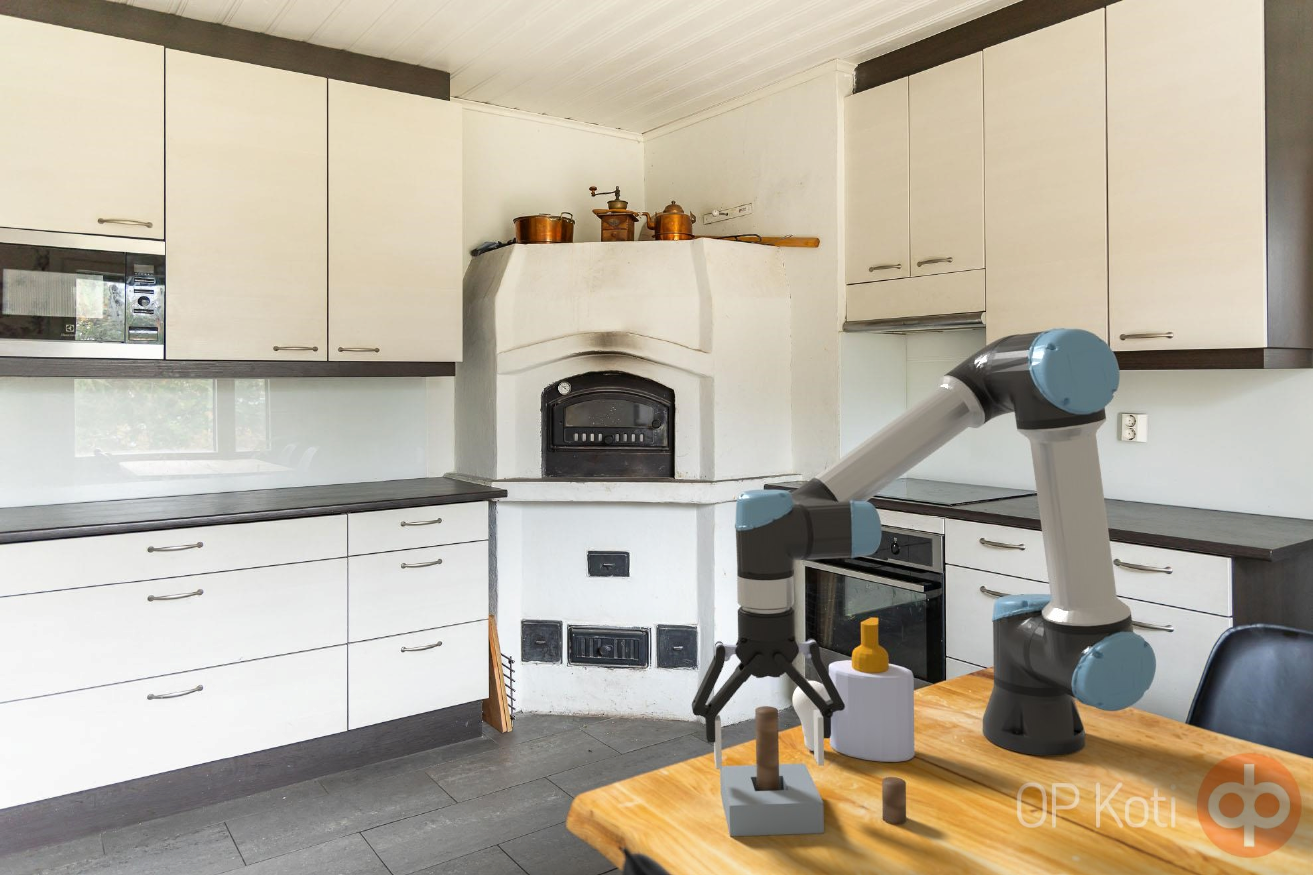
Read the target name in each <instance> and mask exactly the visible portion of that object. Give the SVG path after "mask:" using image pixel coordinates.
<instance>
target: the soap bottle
mask: <svg viewBox="0 0 1313 875" xmlns="http://www.w3.org/2000/svg"><path fill="white" fill-rule="evenodd" d="M889 662H890V661H889V653H888V651H887V650H886V649H885V648H884V647H883V646H881V645H879V617H869V618H867V619H865V620H863V621H861V622H860V645H858V646H857V647H855V648H854V649H853V650H852V653H851V659H848V660H847V659H846V660H840V661H839V660H837V661H833V662H831V663H829V665H828V674H829V676H830V678H831V680H832V682H833V684H834V685H835V687H836V689H837V691H838V693H839V695H840V697H841V699H842V701H843V702H844V704H845V708H844V710H842V711H839V710H838V711H835V712H833V716H832V717H831V736H830V738H829V745H830V747H831V749H833V750H835V751H836V752H837V753H840V754H843V755H845V756H848V757H852V758H856V759H862V760H866V761H875V762H880V763H881V762H882V763H884V762H886V763H889V762H891V763H898V762H905V761H910V760H911V759H912V758H914V757H915V688H914V687H915V685H914V684H915V682H914V680H915V679H914V674H913V671H912V670H910V669H908V668H906V667H904V666H900V665H896V664H892V663H889Z"/></svg>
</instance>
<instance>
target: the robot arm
mask: <svg viewBox="0 0 1313 875" xmlns="http://www.w3.org/2000/svg"><path fill="white" fill-rule="evenodd" d="M1118 363H1119V362H1118V360H1117V357H1116V355H1115V353H1114V352H1113V350H1112V348H1111V347H1110V346H1109V344H1108V343H1107V342H1106V341H1104V340H1103V339H1101V338H1100V337H1099V336H1097V335H1096V333H1093V332H1091V331H1089V330H1086V329H1082V328H1081V329H1080V328H1053V329H1048V330H1043V331H1036V332H1035V331H1034V332H1029V333H1022V334H1021V333H1020V334H1012V335H1011V334H1010V335H1007V336H1003V337H1000V338H998V339H996V340H994V341H992V342H991V343H988V344H987V345H985V346H984V347H982V348H981V349H979V350H977V351H976V352H974V353H973V354H972V355H970V356H969V357H967V358H966V359H965V360H963V361H962V362H961V363H959V364H958V365H957V366H955V367H954V368H952V369H951V370H950V371H948V372H946V373H945V374H944V375H943V376H941V377H940V378H939V379H938V381H937V388H936V389H935V390H933V391H932V392H930V393H929V394H928V395H926V396H925V397H924V398H922V399H921V400H920V401H918V402H917V403H915V404H914V405H913V406H911V407H910V408H908V409H907V410H905V411H904V412H903V413H901V414H900V415H899V416H897V417H896V418H895V419H893V420H892V421H890V422H889V423H888V424H886V425H885V426H883V427H882V428H881V429H879V430H878V431H876V432H875V433H874V434H872V435H871V436H870V437H868V438H867V439H866V440H864V441H863V442H861V443H860V444H859V445H857V446H856V447H854V448H853V449H852V450H850V451H849V452H848V453H846V454H845V455H843V456H842V457H840V458H839V459H838V460H836V461H835V462H834V463H832V464H831V465H830V466H828V467H826V468H825V469H824V470H823V471H821V472H820V473H819V474H817V475H815V477H813V478H811V479H809V481H807V482H805V483H804V484H802V485H800V487H798V488H797V489H789V490H784V489H783V490H782V489H752V490H751V489H750V490H746V491H743V492H741V493H739V495H737V499H736V503H735V504H736V506H735V524H734V529H735V541H736V543H735V544H736V545H735V546H736V569H737V570H736V571H737V572H736V575H737V576H736V578H737V580H736V582H737V583H736V584H737V588H736V589H737V591H736V594H737V604H738V605H739V606H740V607H739V608H738V609H737V641H736V643H735V644H728V643H727V644H726V643H723V642H722V641H720V640H719V641H716V642H715V643H714V651H713V658H712V660H711V662H710V664H709V666H708V668H707V671H706V672H705V675H704V677H703V679H702V681H701V683H700V685H699V687H698V689H697V692H696V694H695V696H694V698H693V701H692V703H691V710H692V713H693V715H694V716H701V717H703V718H704V720H705V721H704V722H705V739H706V741H707V743H708V744H710V743H713V750H714V751H713V754H714V756H713V757H714V759H713V760H714V765H715V769H716V770H720V769H722V766H723V761H722V760H723V756H722V755H723V753H722V752H723V751H722V750H723V749H722V720H721V716H720V712H721V711H722V710H723V708H724V707H725V706H726V705H727V704H728V702H729V701H730V700H731V699H732V697H733V696H734V695H735V693H737V691H738V690H739V689H740V688H741V687H742V686H743V684H744V683H746V682H747V681H748V680H749V678H750V677H751V676H753V677H756V679H763V678H767V677H772V678H780V677H781V676H782V675H784V674H786V675H787V676H788V678H790V680H792V681H793V682H794V683H795V684H796V686H797V687H799V688H800V689H801V690H802V691H803V692H804V693H805V694H806V695H807V697H808V698H809V699H810V700H811V701H812V702H813V703H814V704H815V706H816V707H817V708H818V709H819V710H820V711H819V710H813V711H814V751H813V754H814V760H815V761H816V764H817V765H818V766H819V767H821V766H823V767H824V766H825V749H824V748H825V744H824V743H825V742H824V739H830V736H831V717H832V716H833V712H835V711H838V710H839V711H842V710H844V708H845V704H844V702H843V701H842V699H841V697H840V695H839V693H838V691H837V689H836V687H835V685H834V684H833V682H832V680H831V678H830V676H829V671H828V670H827V669H826V667H825V665H824V662H823V661H822V657H821V651H820V645H819V644H818V643H817V641H816V640H815V639H814V638H808V639H807V640H806V641H803V642H797V641H796V638H795V637H796V635H795V634H796V632H795V631H796V630H795V629H796V628H795V609H793V607H792V606H794V604H795V589H794V588H795V585H794V584H795V582H794V581H795V579H794V574H795V572H794V571H795V569H794V565H795V561H806V560H822V559H823V560H824V559H827V560H828V559H844V558H845V559H846V558H848V559H849V558H850V559H854V558H859V557H864V556H871V555H873V554H875V553H876V552H877V550H878V549H879V546H880V545H881V540H882V523H881V522H882V521H881V516H880V514H879V512H878V510H877V508H876V507H875V505H874V504H872V503H871V502H869V500H870V499H872V498H874V497H875V496H876V495H877V494H879V493H880V492H882V491H883V490H884V489H885V488H887V487H888V486H890V485H891V484H892V483H893V482H895V481H897V480H898V479H899V478H901V477H902V476H903V475H904V474H906V473H907V472H909V471H910V470H911V469H913V468H914V467H915V466H917V465H919V464H920V463H921V462H922V461H924V460H925V459H927V458H928V457H929V456H930V455H932V454H934V453H935V452H937V451H938V450H939V449H940V448H942V447H944V446H945V445H946V444H947V443H948V442H950V441H952V440H953V439H954V438H956V437H957V436H958V435H960V434H962V432H964V431H965V430H967V429H968V428H972V429H978V428H981V427H983V425H985V424H986V423H987V422H989V421H991V420H993V419H995V418H996V417H997V418H998V417H1000V416H1003V415H1006V414H1007V415H1008V414H1009V413H1014V418H1015V425H1016V431H1017V432H1019V433H1020V434H1021V435H1023V436H1024V437H1026V438H1027V439H1028V440H1029V442H1030V450H1031V452H1030V453H1031V457H1032V466H1033V474H1034V480H1035V481H1034V482H1035V486H1036V488H1035V489H1036V496H1037V502H1038V510H1039V518H1040V525H1041V533H1042V540H1043V549H1044V555H1045V561H1046V562H1045V563H1046V572H1047V578H1048V585H1049V593H1050V594H1046V593H1025V594H1024V593H1023V594H1010V595H1005V596H1004V595H1003V596H1001V597H999V598H998V599H996V600H995V601H994V603H993V610H992V619H991V622H992V634H993V635H992V637H993V638H992V643H993V644H992V646H993V648H992V651H993V655H992V656H993V687H992V691H991V693H990V697H989V699H988V702H987V704H986V707H985V710H984V713H983V715H982V716H983V717H982V734H983V737H985V738H986V739H987V740H988V741H989V742H991V743H993V744H994V745H996V746H999V747H1001V748H1004V749H1007V750H1010V751H1013V752H1017V753H1020V754H1022V753H1023V754H1026V755H1027V754H1028V755H1035V756H1050V757H1051V756H1054V757H1055V756H1067V755H1072V754H1075V753H1077V752H1079V751H1082V750H1083V749H1084V747H1085V745H1086V730H1085V727H1084V726H1085V725H1083V721H1082V718H1081V715H1080V712H1079V709H1078V707H1077V704H1076V700H1077V701H1078V702H1079V703H1081V704H1082V705H1084V706H1085V705H1086V706H1089V707H1093V708H1096V709H1098V710H1100V711H1105V712H1117V711H1122V710H1126V709H1127V708H1130V707H1131V706H1134V705H1136V703H1138V702H1139V701H1140V700H1141V699H1142V698H1143V697H1144V695H1145V693H1146V691H1148V690H1149V689H1150V688H1151V686H1152V683H1153V681H1154V678H1155V676H1156V668H1157V658H1156V654H1155V651H1154V649H1153V646H1151V644H1150V643H1149V642H1148V641H1147V640H1145V638H1144V637H1142V635H1140V634H1137V633H1136V632H1134V627H1133V618H1132V612H1131V608H1130V606H1129V605H1127V604H1126V603H1125V602H1123V601H1122V600H1121V599H1120V598H1118V594H1117V588H1116V587H1117V586H1116V579H1115V572H1114V565H1113V558H1112V557H1113V556H1112V549H1111V542H1110V532H1109V527H1108V520H1107V519H1108V516H1107V510H1106V504H1105V502H1106V501H1105V497H1104V496H1105V495H1104V488H1103V480H1102V472H1101V471H1102V470H1101V464H1100V463H1101V462H1100V456H1099V455H1100V454H1099V449H1098V440H1097V433H1098V430H1099V429H1100V428H1101V427H1102V426H1103V425H1104V424H1105V422H1106V421H1107V414H1106V406H1108V404H1110V403H1111V402H1112V400H1113V399H1114V398H1115V397H1114V393H1115V392H1117V391H1118V388H1119V385H1120V376H1121V374H1120V367H1119V364H1118ZM799 653H802V655H803V657H804V658H805V659H809V660H810V663H811V664H812V666H813V668H814V671H815V672H816V674H817V676H818V678H819V679H820V683H821V684H823V686H824V687H825V689H826V691H827V693H828V695H829V697H830V700H828V701H825V700H824V699H823V698H822V697H821V696H820V695H819V694H818V692H817V691H816V690H815V689H814V688H813V687H812V686H811V685H810V683H809V682H808V681H809V680H807V679H806V678H805V677H804V676H803V674H802V673H801V672H800V671H799V670H798V669H797V667H796V666H795V665H794V664H793V662H794V660H795V659H796V658H797V656H798V655H799ZM733 655H735V656H736V657H737V659H738V660H739V663H738V665H737V666H736V668H735V669H734V671H733V673H732V674H731V675H730V676H729V678H727V680H726V681H725V682H724V683H723V685H722V686H721V687H720V688H719V689H718V691H717V692H716V693H715V695H714V696H713V697H712V698H711V700H710V701H708V700H709V699H710V696H711V694H712V692H713V691H714V690H713V689H714V688H715V686H716V684H717V682H718V679H719V677H720V675H721V672H722V670H723V668H724V666H725V662H729V660H730V659H731V656H733ZM1075 699H1076V700H1075ZM707 702H708V703H707Z"/></svg>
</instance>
